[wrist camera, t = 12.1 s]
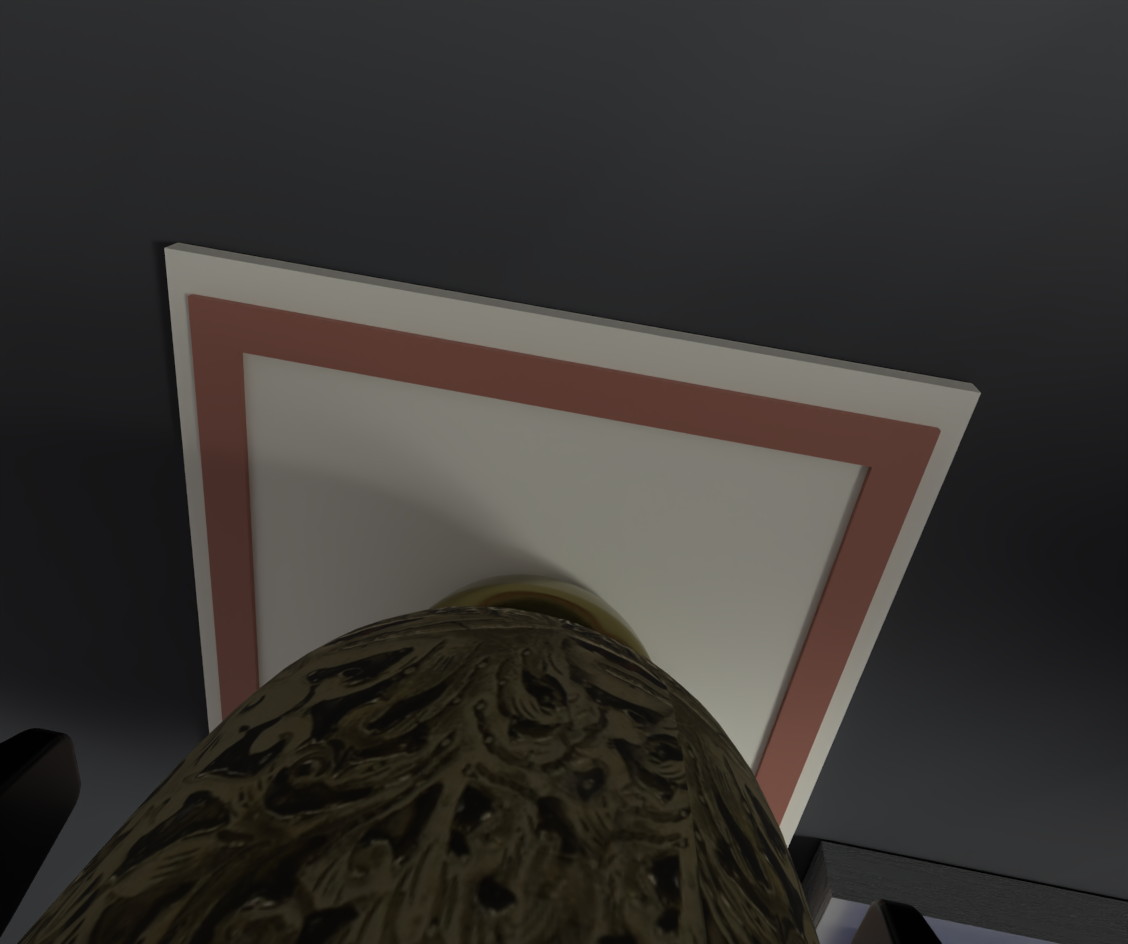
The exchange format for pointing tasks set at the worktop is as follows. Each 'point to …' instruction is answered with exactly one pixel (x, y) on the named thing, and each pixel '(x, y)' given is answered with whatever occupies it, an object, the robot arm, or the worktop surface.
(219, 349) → the marked card
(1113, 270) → the worktop surface
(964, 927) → the ink pad
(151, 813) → the ornate bronze cup
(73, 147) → the worktop surface
